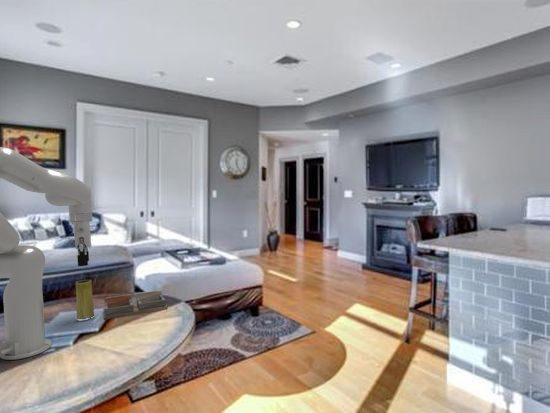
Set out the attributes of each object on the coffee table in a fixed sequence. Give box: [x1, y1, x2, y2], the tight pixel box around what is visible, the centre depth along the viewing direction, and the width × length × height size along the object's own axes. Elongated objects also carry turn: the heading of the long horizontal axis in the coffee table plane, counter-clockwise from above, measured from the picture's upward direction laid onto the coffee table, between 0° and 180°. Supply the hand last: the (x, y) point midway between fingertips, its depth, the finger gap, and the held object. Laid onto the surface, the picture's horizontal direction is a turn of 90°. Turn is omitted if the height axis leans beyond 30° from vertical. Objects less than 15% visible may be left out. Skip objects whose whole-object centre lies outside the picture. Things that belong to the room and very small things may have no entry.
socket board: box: [102, 289, 168, 320], centre depth 141 cm, size 12×23×6 cm, turn 117°
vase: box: [75, 279, 95, 319], centre depth 132 cm, size 6×6×14 cm
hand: (83, 263), depth 132 cm, fingers open, 9 cm apart
